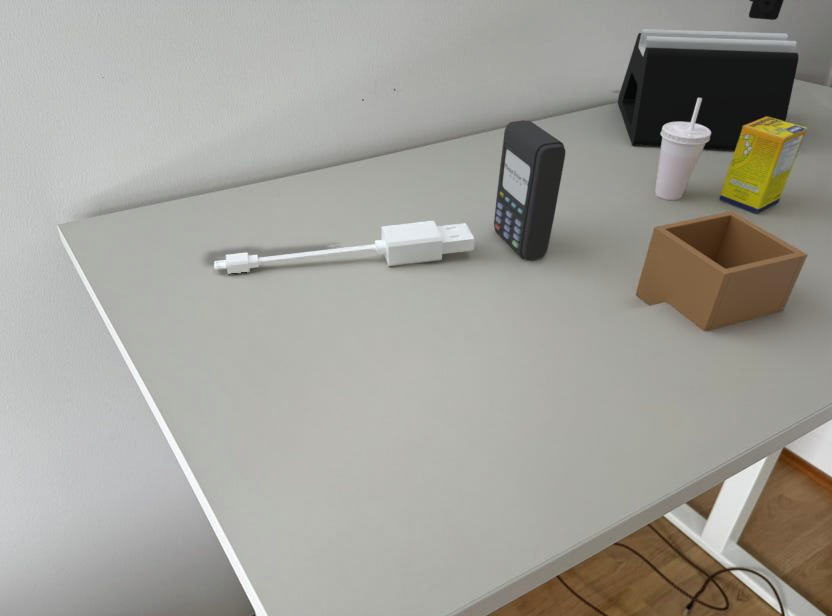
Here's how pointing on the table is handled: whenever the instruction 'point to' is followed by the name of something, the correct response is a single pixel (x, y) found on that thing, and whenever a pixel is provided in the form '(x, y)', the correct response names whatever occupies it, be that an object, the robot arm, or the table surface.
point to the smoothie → (679, 155)
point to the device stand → (706, 82)
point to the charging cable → (379, 247)
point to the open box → (719, 270)
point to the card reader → (528, 188)
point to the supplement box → (761, 163)
